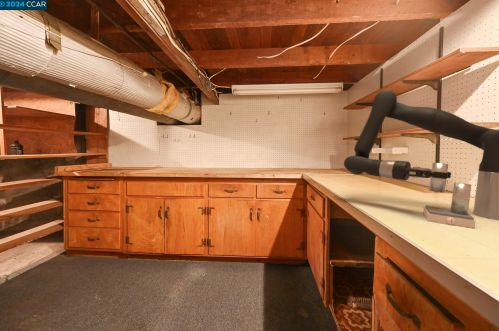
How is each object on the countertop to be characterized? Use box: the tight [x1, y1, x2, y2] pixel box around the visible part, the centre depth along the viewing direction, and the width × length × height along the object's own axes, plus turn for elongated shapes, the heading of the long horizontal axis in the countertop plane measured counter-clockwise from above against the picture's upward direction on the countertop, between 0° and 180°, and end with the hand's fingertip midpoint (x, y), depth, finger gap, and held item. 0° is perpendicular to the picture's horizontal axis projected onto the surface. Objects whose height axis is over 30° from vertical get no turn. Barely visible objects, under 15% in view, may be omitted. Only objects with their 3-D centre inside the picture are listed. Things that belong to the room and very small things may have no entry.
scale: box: [422, 204, 477, 229], centre depth 83 cm, size 12×12×3 cm
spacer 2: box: [450, 182, 472, 215], centre depth 80 cm, size 4×4×10 cm
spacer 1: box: [428, 162, 449, 193], centre depth 84 cm, size 4×4×10 cm
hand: (448, 175), depth 82 cm, fingers closed on spacer 1, 4 cm apart
